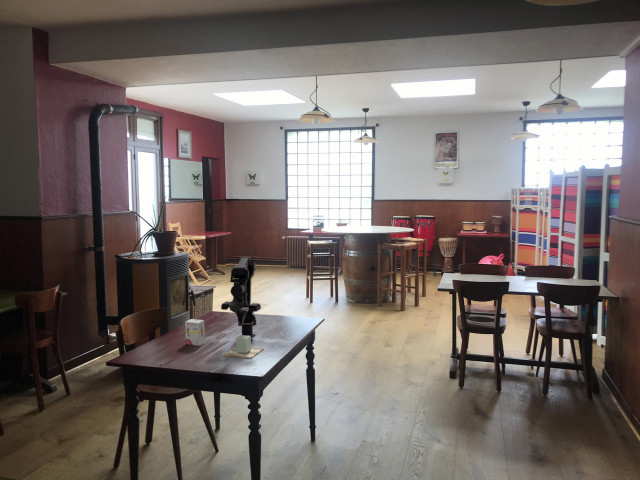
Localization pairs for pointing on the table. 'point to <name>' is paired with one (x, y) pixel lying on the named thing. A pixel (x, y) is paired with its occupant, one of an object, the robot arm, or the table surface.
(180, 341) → the table surface
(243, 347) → the mint green box
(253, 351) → the post board
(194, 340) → the ink box
